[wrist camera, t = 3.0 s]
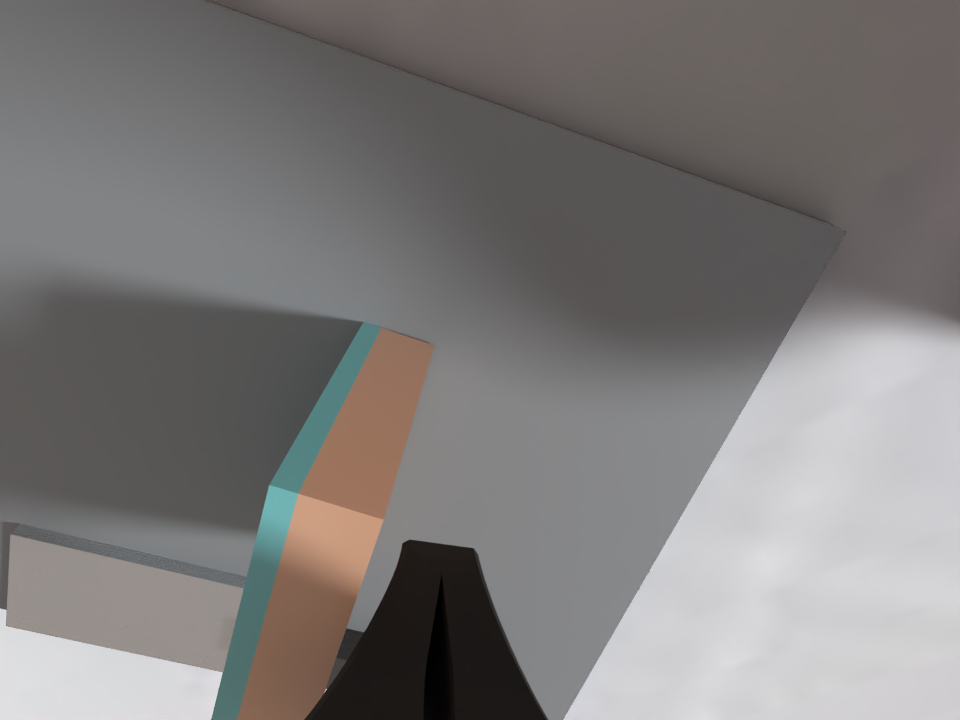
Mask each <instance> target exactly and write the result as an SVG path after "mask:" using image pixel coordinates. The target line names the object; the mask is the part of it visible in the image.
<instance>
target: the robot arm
mask: <svg viewBox="0 0 960 720" xmlns="http://www.w3.org/2000/svg"><path fill="white" fill-rule="evenodd" d="M304 720H548V718H547V716H546V715H545V713H544V711H543V709H542V708H541V706H540V704H539V702H538V700H537V699H536V697H535V695H534V693H533V691H532V689H531V687H530V685H529V683H528V681H527V679H526V677H525V675H524V673H523V671H522V669H521V667H520V665H519V663H518V661H517V659H516V657H515V655H514V652H513V650H512V648H511V646H510V643H509V641H508V639H507V636H506V634H505V632H504V629H503V627H502V625H501V622H500V620H499V617H498V615H497V612H496V610H495V607H494V604H493V602H492V599H491V596H490V593H489V590H488V587H487V584H486V581H485V578H484V575H483V571H482V568H481V564H480V560H479V556H478V553H477V552H476V551H475V549H474V548H469V547H461V546H454V545H447V544H439V543H432V542H425V541H417V540H410V539H409V540H407V541H406V542H404V543H402V548H401V553H400V557H399V560H398V563H397V566H396V569H395V571H394V574H393V577H392V579H391V581H390V583H389V586H388V588H387V590H386V592H385V594H384V596H383V598H382V600H381V602H380V604H379V606H378V608H377V610H376V612H375V614H374V616H373V618H372V620H371V621H370V623H369V625H368V627H367V629H366V630H365V632H364V633H363V635H362V637H361V638H360V640H359V642H358V643H357V645H356V647H355V648H354V650H353V651H352V653H351V655H350V656H349V658H348V660H347V661H346V663H345V664H344V666H343V667H342V669H341V670H340V672H339V673H338V675H337V676H336V678H335V679H334V680H333V682H332V683H331V685H330V686H329V688H328V689H327V690H326V692H325V693H324V694H323V696H322V697H321V699H320V700H319V701H318V703H317V704H316V705H315V707H314V708H313V709H312V711H311V712H310V713H309V714H308V716H307V717H306V718H305V719H304Z"/></svg>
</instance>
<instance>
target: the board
mask: <svg viewBox="0 0 960 720" xmlns="http://www.w3.org/2000/svg"><path fill="white" fill-rule="evenodd" d="M844 234H845V231H843V230H841V229H839V228H837V227H836V226H834V225H832V224H829V223H826V222H824V221H821V220H818V219H815V218H812V217H810V216H807V215H804V214H801V213H798V212H796V211H793V210H790V209H787V208H784V207H782V206H779V205H776V204H773V203H771V202H768V201H765V200H762V199H759V198H757V197H754V196H751V195H748V194H745V193H743V192H740V191H737V190H734V189H732V188H729V187H726V186H723V185H720V184H718V183H715V182H712V181H709V180H706V179H704V178H701V177H698V176H695V175H693V174H690V173H687V172H684V171H681V170H679V169H676V168H673V167H670V166H667V165H665V164H662V163H659V162H656V161H654V160H651V159H648V158H645V157H642V156H640V155H637V154H634V153H631V152H628V151H626V150H623V149H620V148H617V147H614V146H612V145H609V144H606V143H603V142H601V141H598V140H595V139H592V138H589V137H587V136H584V135H581V134H578V133H575V132H573V131H570V130H567V129H564V128H562V127H559V126H556V125H553V124H550V123H548V122H545V121H542V120H539V119H536V118H534V117H531V116H528V115H525V114H523V113H520V112H517V111H514V110H511V109H509V108H506V107H503V106H500V105H497V104H495V103H492V102H489V101H486V100H484V99H481V98H478V97H475V96H472V95H470V94H467V93H464V92H461V91H458V90H456V89H453V88H450V87H447V86H444V85H442V84H439V83H436V82H433V81H431V80H428V79H425V78H422V77H419V76H417V75H414V74H411V73H408V72H405V71H403V70H400V69H397V68H394V67H392V66H389V65H386V64H383V63H380V62H378V61H375V60H372V59H369V58H366V57H364V56H361V55H358V54H355V53H353V52H350V51H347V50H344V49H341V48H339V47H336V46H333V45H330V44H327V43H325V42H322V41H319V40H316V39H314V38H311V37H308V36H305V35H302V34H300V33H297V32H294V31H291V30H288V29H286V28H283V27H280V26H277V25H274V24H272V23H269V22H266V21H263V20H261V19H258V18H255V17H252V16H249V15H247V14H244V13H241V12H238V11H235V10H233V9H230V8H227V7H224V6H222V5H219V4H216V3H213V2H210V1H208V0H0V608H1V609H6V610H7V595H8V574H9V553H10V534H11V533H12V532H13V531H14V530H15V529H16V528H17V526H18V525H19V524H25V525H29V526H33V527H37V528H42V529H46V530H50V531H54V532H59V533H63V534H67V535H71V536H76V537H80V538H84V539H88V540H93V541H97V542H101V543H105V544H110V545H114V546H118V547H123V548H127V549H131V550H135V551H140V552H144V553H148V554H152V555H157V556H161V557H165V558H169V559H174V560H178V561H182V562H186V563H191V564H195V565H199V566H203V567H208V568H212V569H216V570H220V571H225V572H229V573H233V574H237V575H242V576H246V577H247V573H248V569H249V565H250V561H251V557H252V553H253V549H254V545H255V541H256V537H257V533H258V529H259V525H260V521H261V516H262V512H263V508H264V504H265V500H266V496H267V492H268V488H269V485H270V483H271V481H272V479H273V478H274V476H275V474H276V472H277V471H278V469H279V467H280V466H281V464H282V462H283V460H284V459H285V457H286V455H287V453H288V452H289V450H290V448H291V446H292V445H293V443H294V441H295V440H296V438H297V436H298V434H299V433H300V431H301V429H302V427H303V426H304V424H305V422H306V421H307V419H308V417H309V415H310V414H311V412H312V410H313V408H314V407H315V405H316V403H317V402H318V400H319V398H320V396H321V395H322V393H323V391H324V389H325V388H326V386H327V384H328V383H329V381H330V379H331V377H332V376H333V374H334V372H335V370H336V369H337V367H338V365H339V363H340V362H341V360H342V358H343V357H344V355H345V353H346V351H347V350H348V348H349V346H350V344H351V343H352V341H353V339H354V338H355V336H356V334H357V332H358V331H359V329H360V327H361V325H362V324H363V322H365V323H369V324H372V325H375V326H378V327H381V328H384V329H387V330H390V331H393V332H396V333H399V334H402V335H405V336H408V337H411V338H414V339H417V340H420V341H423V342H426V343H429V344H432V345H435V346H434V349H433V353H432V356H431V360H430V363H429V366H428V370H427V373H426V377H425V380H424V384H423V387H422V390H421V394H420V397H419V401H418V404H417V408H416V411H415V414H414V418H413V421H412V425H411V428H410V432H409V435H408V438H407V442H406V445H405V449H404V452H403V456H402V459H401V462H400V466H399V469H398V473H397V476H396V479H395V483H394V486H393V490H392V493H391V497H390V500H389V503H388V507H387V510H386V514H385V517H384V521H383V523H382V526H381V529H380V532H379V535H378V538H377V541H376V544H375V547H374V550H373V552H372V555H371V558H370V561H369V564H368V567H367V570H366V573H365V576H364V579H363V581H362V584H361V587H360V590H359V593H358V596H357V599H356V602H355V605H354V608H353V610H352V613H351V616H350V619H349V622H348V625H347V628H348V629H352V630H356V631H361V632H365V630H366V629H367V627H368V625H369V623H370V621H371V620H372V618H373V616H374V614H375V612H376V610H377V608H378V606H379V604H380V602H381V600H382V598H383V596H384V594H385V592H386V590H387V588H388V586H389V583H390V581H391V579H392V577H393V574H394V571H395V569H396V566H397V563H398V560H399V557H400V553H401V548H402V543H404V542H406V541H407V540H409V539H410V540H417V541H425V542H432V543H439V544H447V545H454V546H461V547H469V548H474V549H475V551H476V552H477V553H478V556H479V560H480V564H481V568H482V571H483V575H484V578H485V581H486V584H487V587H488V590H489V593H490V596H491V599H492V602H493V604H494V607H495V610H496V612H497V615H498V617H499V620H500V622H501V625H502V627H503V629H504V632H505V634H506V636H507V639H508V641H509V643H510V646H511V648H512V650H513V652H514V655H515V657H516V659H517V661H518V663H519V665H520V667H521V669H522V671H523V673H524V675H525V677H526V679H527V681H528V683H529V685H530V687H531V689H532V691H533V693H534V695H535V697H536V699H537V700H538V702H539V704H540V706H541V708H542V709H543V711H544V713H545V715H546V716H547V718H548V720H563V719H564V717H565V715H566V714H567V712H568V710H569V708H570V707H571V705H572V703H573V702H574V700H575V698H576V696H577V695H578V693H579V691H580V690H581V688H582V686H583V684H584V683H585V681H586V679H587V677H588V676H589V674H590V672H591V671H592V669H593V667H594V665H595V664H596V662H597V660H598V658H599V657H600V655H601V653H602V652H603V650H604V648H605V646H606V645H607V643H608V641H609V639H610V638H611V636H612V634H613V633H614V631H615V629H616V627H617V626H618V624H619V622H620V621H621V619H622V617H623V615H624V614H625V612H626V610H627V608H628V607H629V605H630V603H631V602H632V600H633V598H634V596H635V595H636V593H637V591H638V589H639V588H640V586H641V584H642V583H643V581H644V579H645V577H646V576H647V574H648V572H649V570H650V569H651V567H652V565H653V564H654V562H655V560H656V558H657V557H658V555H659V553H660V552H661V550H662V548H663V546H664V545H665V543H666V541H667V539H668V538H669V536H670V534H671V533H672V531H673V529H674V527H675V526H676V524H677V522H678V520H679V519H680V517H681V515H682V514H683V512H684V510H685V508H686V507H687V505H688V503H689V501H690V500H691V498H692V496H693V495H694V493H695V491H696V489H697V488H698V486H699V484H700V483H701V481H702V479H703V477H704V476H705V474H706V472H707V470H708V469H709V467H710V465H711V464H712V462H713V460H714V458H715V457H716V455H717V453H718V451H719V450H720V448H721V446H722V445H723V443H724V441H725V439H726V438H727V436H728V434H729V432H730V431H731V429H732V427H733V426H734V424H735V422H736V420H737V419H738V417H739V415H740V414H741V412H742V410H743V408H744V407H745V405H746V403H747V401H748V400H749V398H750V396H751V395H752V393H753V391H754V389H755V388H756V386H757V384H758V382H759V381H760V379H761V377H762V376H763V374H764V372H765V370H766V369H767V367H768V365H769V363H770V362H771V360H772V358H773V357H774V355H775V353H776V351H777V350H778V348H779V346H780V345H781V343H782V341H783V339H784V338H785V336H786V334H787V332H788V331H789V329H790V327H791V326H792V324H793V322H794V320H795V319H796V317H797V315H798V313H799V312H800V310H801V308H802V307H803V305H804V303H805V301H806V300H807V298H808V296H809V294H810V293H811V291H812V289H813V288H814V286H815V284H816V282H817V281H818V279H819V277H820V276H821V274H822V272H823V270H824V269H825V267H826V265H827V263H828V262H829V260H830V258H831V257H832V255H833V253H834V251H835V250H836V248H837V246H838V244H839V243H840V241H841V239H842V238H843V236H844Z"/></svg>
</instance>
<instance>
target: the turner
mask: <svg viewBox="0 0 960 720" xmlns="http://www.w3.org/2000/svg"><path fill="white" fill-rule="evenodd" d="M245 581H246V576H242V575H237V574H233V573H229V572H225V571H220V570H216V569H212V568H208V567H203V566H199V565H195V564H191V563H186V562H182V561H178V560H174V559H169V558H165V557H161V556H157V555H152V554H148V553H144V552H140V551H135V550H131V549H127V548H123V547H118V546H114V545H110V544H105V543H101V542H97V541H93V540H88V539H84V538H80V537H76V536H71V535H67V534H63V533H59V532H54V531H50V530H46V529H42V528H37V527H33V526H29V525H25V524H19V525H18V526H17V528H16V529H15V530H14V531H13V532H12V533H11V534H10V553H9V574H8V595H7V616H6V626H8V627H13V628H18V629H22V630H27V631H32V632H36V633H41V634H46V635H50V636H55V637H60V638H65V639H69V640H74V641H79V642H83V643H88V644H93V645H97V646H102V647H107V648H112V649H116V650H121V651H126V652H130V653H135V654H140V655H145V656H149V657H154V658H159V659H163V660H168V661H173V662H177V663H182V664H187V665H192V666H196V667H201V668H206V669H210V670H215V671H220V672H223V671H224V667H225V663H226V658H227V654H228V650H229V646H230V642H231V638H232V634H233V630H234V626H235V622H236V618H237V614H238V610H239V606H240V602H241V598H242V594H243V590H244V585H245ZM363 633H364V632H361V631H356V630H352V629H348V628H346V631H345V634H344V637H343V640H342V642H341V645H340V648H339V651H338V654H337V657H336V660H335V663H334V666H333V669H332V671H331V674H330V677H329V680H328V683H327V686H326V689H328V688H329V686H330V685H331V683H332V682H333V680H334V679H335V678H336V676H337V675H338V673H339V672H340V670H341V669H342V667H343V666H344V664H345V663H346V661H347V660H348V658H349V656H350V655H351V653H352V651H353V650H354V648H355V647H356V645H357V643H358V642H359V640H360V638H361V637H362V635H363Z"/></svg>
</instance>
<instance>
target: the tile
mask: <svg viewBox="0 0 960 720" xmlns="http://www.w3.org/2000/svg"><path fill="white" fill-rule="evenodd" d="M434 346H435V345H432V344H429V343H426V342H423V341H420V340H417V339H414V338H411V337H408V336H405V335H402V334H399V333H396V332H393V331H390V330H387V329H384V328H381V327H378V326H375V325H372V324H369V323H365V322H363V324H362V325H361V327H360V329H359V331H358V332H357V334H356V336H355V338H354V339H353V341H352V343H351V344H350V346H349V348H348V350H347V351H346V353H345V355H344V357H343V358H342V360H341V362H340V363H339V365H338V367H337V369H336V370H335V372H334V374H333V376H332V377H331V379H330V381H329V383H328V384H327V386H326V388H325V389H324V391H323V393H322V395H321V396H320V398H319V400H318V402H317V403H316V405H315V407H314V408H313V410H312V412H311V414H310V415H309V417H308V419H307V421H306V422H305V424H304V426H303V427H302V429H301V431H300V433H299V434H298V436H297V438H296V440H295V441H294V443H293V445H292V446H291V448H290V450H289V452H288V453H287V455H286V457H285V459H284V460H283V462H282V464H281V466H280V467H279V469H278V471H277V472H276V474H275V476H274V478H273V479H272V481H271V483H270V485H269V488H268V492H267V496H266V500H265V504H264V508H263V512H262V516H261V521H260V525H259V529H258V533H257V537H256V541H255V545H254V549H253V553H252V557H251V561H250V565H249V569H248V573H247V577H246V581H245V585H244V590H243V594H242V598H241V602H240V606H239V610H238V614H237V618H236V622H235V626H234V630H233V634H232V638H231V642H230V646H229V650H228V654H227V658H226V663H225V667H224V671H223V675H222V679H221V683H220V687H219V691H218V695H217V699H216V703H215V707H214V711H213V715H212V719H211V720H304V719H305V718H306V717H307V716H308V714H309V713H310V712H311V711H312V709H313V708H314V707H315V705H316V704H317V703H318V701H319V700H320V699H321V697H322V696H323V694H324V692H325V689H326V686H327V683H328V680H329V677H330V674H331V671H332V669H333V666H334V663H335V660H336V657H337V654H338V651H339V648H340V645H341V642H342V640H343V637H344V634H345V631H346V628H347V625H348V622H349V619H350V616H351V613H352V610H353V608H354V605H355V602H356V599H357V596H358V593H359V590H360V587H361V584H362V581H363V579H364V576H365V573H366V570H367V567H368V564H369V561H370V558H371V555H372V552H373V550H374V547H375V544H376V541H377V538H378V535H379V532H380V529H381V526H382V523H383V521H384V517H385V514H386V510H387V507H388V503H389V500H390V497H391V493H392V490H393V486H394V483H395V479H396V476H397V473H398V469H399V466H400V462H401V459H402V456H403V452H404V449H405V445H406V442H407V438H408V435H409V432H410V428H411V425H412V421H413V418H414V414H415V411H416V408H417V404H418V401H419V397H420V394H421V390H422V387H423V384H424V380H425V377H426V373H427V370H428V366H429V363H430V360H431V356H432V353H433V349H434Z"/></svg>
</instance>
